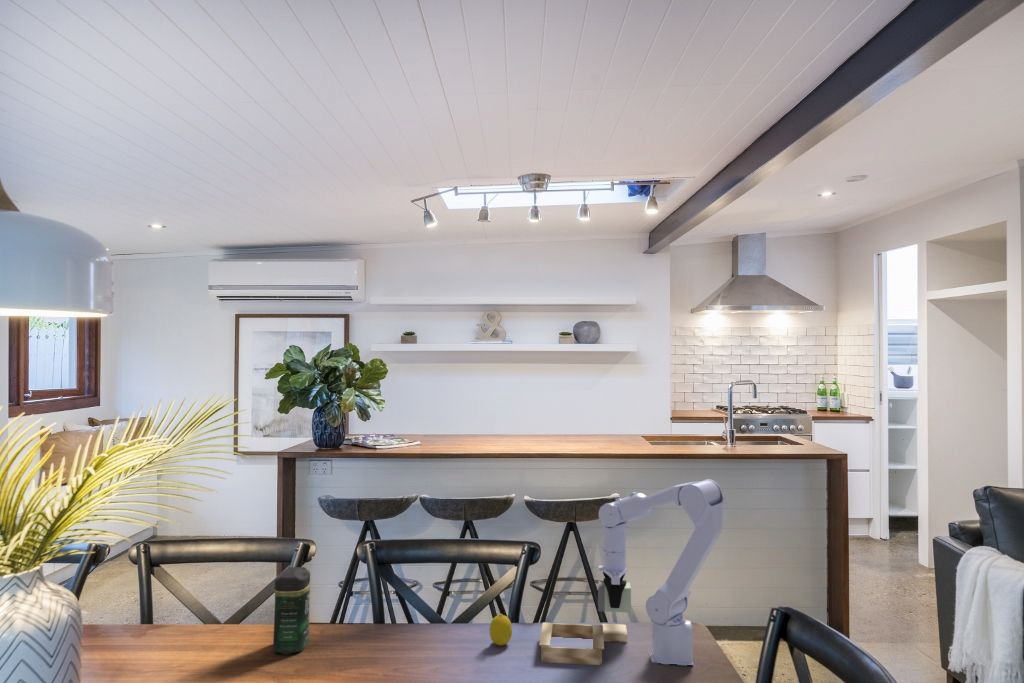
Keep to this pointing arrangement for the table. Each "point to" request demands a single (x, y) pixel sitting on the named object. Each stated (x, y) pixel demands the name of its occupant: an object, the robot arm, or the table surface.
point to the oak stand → (614, 632)
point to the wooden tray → (569, 653)
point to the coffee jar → (291, 610)
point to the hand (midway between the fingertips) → (614, 603)
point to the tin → (605, 604)
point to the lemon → (500, 630)
